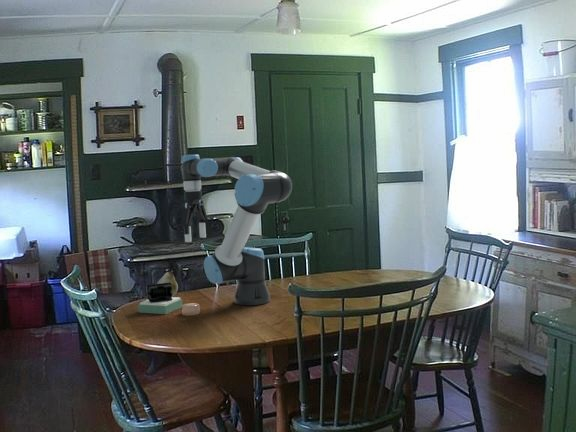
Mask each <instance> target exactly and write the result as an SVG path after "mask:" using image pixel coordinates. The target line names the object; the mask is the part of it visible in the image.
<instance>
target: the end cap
mask: <svg viewBox="0 0 576 432" xmlns="http://www.w3.org/2000/svg"><path fill="white" fill-rule="evenodd" d="M145 288H146V289H145V290H146V298H147V300H149V301H150V303H155V302H164V301H172V298H171V297H172V295H173V294H172V286H171V283H161V284H157V283H153V284H152V283H151V284H147V285H145Z"/></svg>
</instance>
